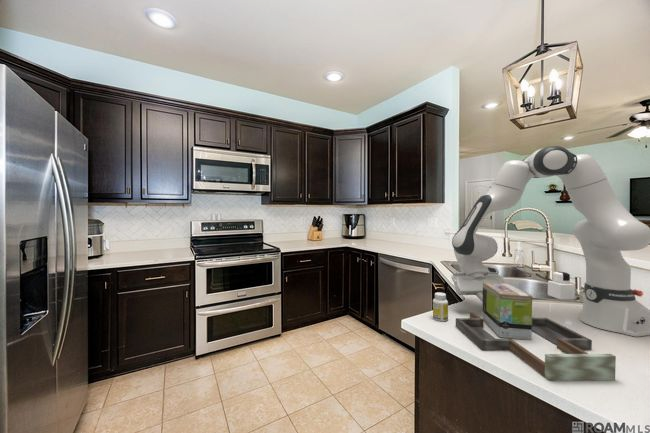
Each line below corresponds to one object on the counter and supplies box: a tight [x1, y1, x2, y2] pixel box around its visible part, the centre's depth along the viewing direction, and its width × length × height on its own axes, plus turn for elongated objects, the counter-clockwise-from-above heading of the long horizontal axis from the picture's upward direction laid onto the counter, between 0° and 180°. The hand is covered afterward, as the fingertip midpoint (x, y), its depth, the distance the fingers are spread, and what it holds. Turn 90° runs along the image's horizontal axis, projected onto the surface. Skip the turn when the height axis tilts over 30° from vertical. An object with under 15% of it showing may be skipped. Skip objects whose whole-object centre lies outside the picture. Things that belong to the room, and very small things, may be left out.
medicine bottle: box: [547, 271, 576, 301], centre depth 126 cm, size 7×7×12 cm
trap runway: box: [455, 311, 617, 382], centre depth 83 cm, size 33×36×6 cm
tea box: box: [481, 283, 533, 341], centre depth 93 cm, size 15×10×15 cm, turn 168°
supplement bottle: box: [432, 292, 449, 322], centre depth 103 cm, size 5×5×10 cm
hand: (488, 304), depth 103 cm, fingers closed
